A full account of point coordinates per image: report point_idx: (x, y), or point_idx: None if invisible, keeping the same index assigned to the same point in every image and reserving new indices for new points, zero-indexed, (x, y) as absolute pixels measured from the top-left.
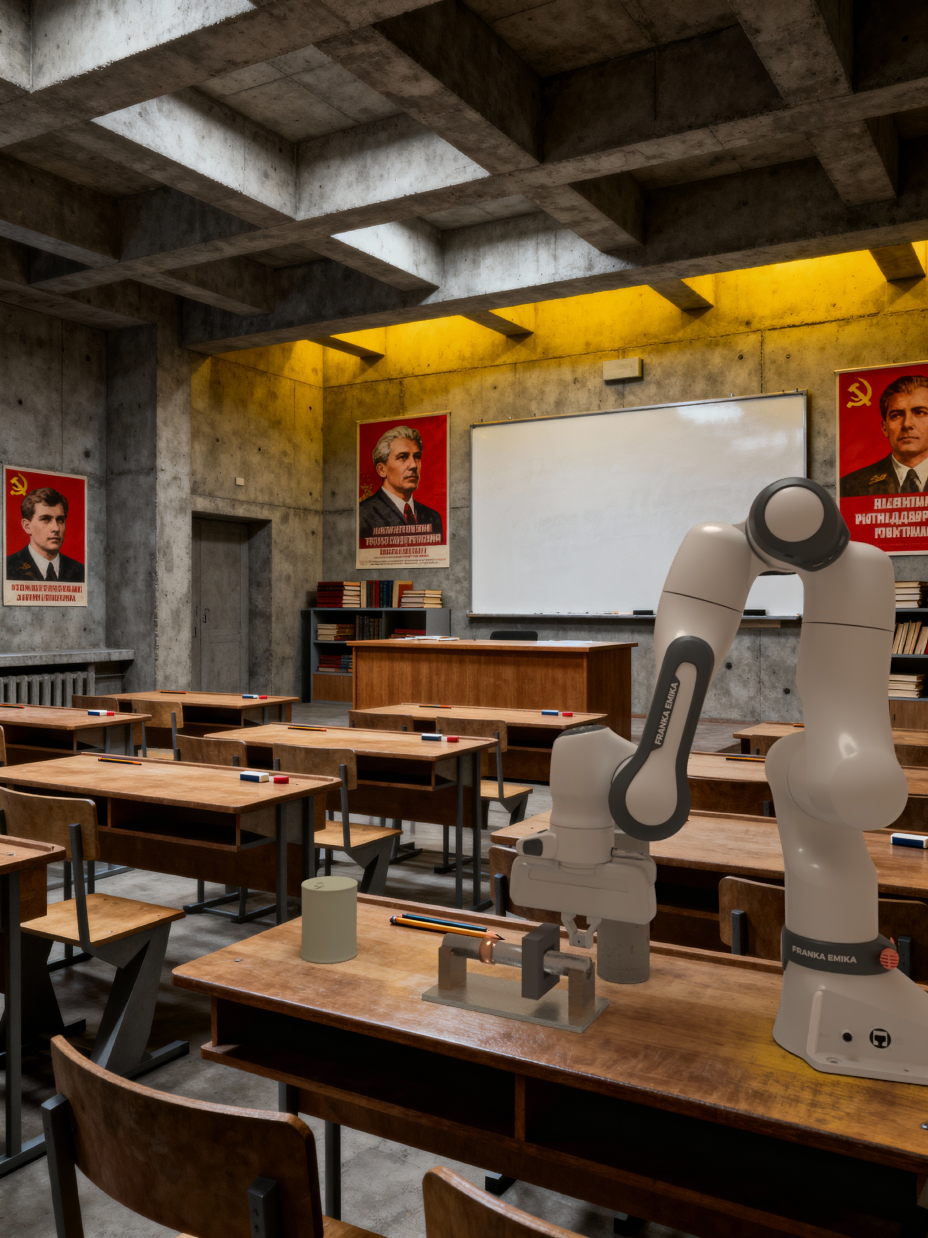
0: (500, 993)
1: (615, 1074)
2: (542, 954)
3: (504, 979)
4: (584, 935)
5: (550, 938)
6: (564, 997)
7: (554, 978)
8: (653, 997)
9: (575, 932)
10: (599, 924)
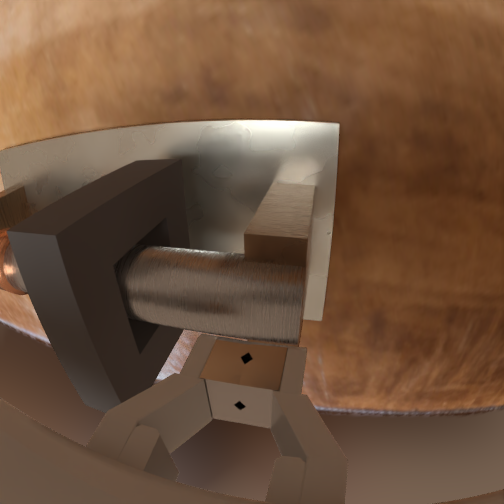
0: None
1: (399, 402)
2: (145, 357)
3: (59, 141)
4: (268, 425)
5: (107, 323)
6: (218, 172)
7: (175, 211)
8: (433, 23)
9: (208, 401)
10: (336, 446)
